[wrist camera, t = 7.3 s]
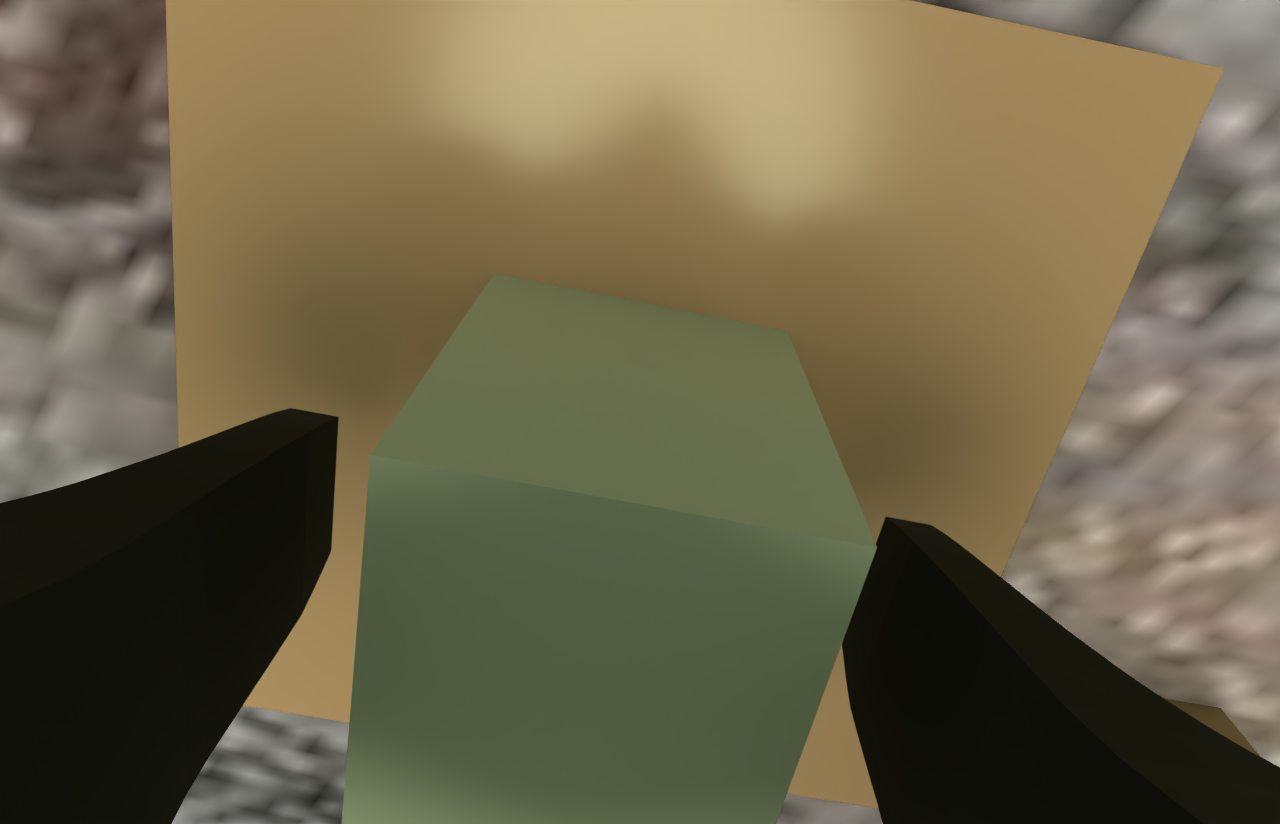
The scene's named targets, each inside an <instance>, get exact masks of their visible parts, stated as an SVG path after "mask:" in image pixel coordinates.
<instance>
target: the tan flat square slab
mask: <svg viewBox="0 0 1280 824" xmlns="http://www.w3.org/2000/svg"><path fill="white" fill-rule="evenodd" d="M166 26H167V60H168V95H169V129H170V163H171V197H172V231H173V266H174V300H175V334H176V368H177V403H178V437H179V448H180V447H182V446H185V445H188V444H190V443H193V442H196V441H198V440H201V439H204V438H206V437H209V436H212V435H214V434H217V433H219V432H222V431H225V430H227V429H230V428H233V427H235V426H238V425H240V424H243V423H246V422H248V421H251V420H254V419H257V418H259V417H262V416H265V415H268V414H271V413H274V412H277V411H281V410H285V409H289V408H293V409H299V410H304V411H310V412H315V413H321V414H326V415H332V416H337V417H339V420H338V438H337V456H336V474H335V492H334V511H333V529H332V547H331V553H330V555H329V557H328V560H327V562H326V564H325V566H324V568H323V571H322V573H321V575H320V577H319V580H318V582H317V584H316V586H315V588H314V590H313V592H312V594H311V596H310V599H309V601H308V603H307V605H306V607H305V609H304V611H303V613H302V615H301V617H300V618H299V620H298V621H297V623H296V624H295V626H294V628H293V629H292V631H291V632H290V634H289V635H288V637H287V639H286V640H285V642H284V643H283V645H282V646H281V648H280V649H279V651H278V652H277V654H276V656H275V657H274V659H273V660H272V662H271V663H270V665H269V666H268V668H267V669H266V671H265V672H264V674H263V675H262V677H261V678H260V680H259V681H258V683H257V684H256V686H255V688H254V689H253V691H252V692H251V694H250V695H249V697H248V698H247V700H246V701H245V703H244V704H243V705H244V706H250V707H256V708H262V709H268V710H274V711H280V712H287V713H293V714H299V715H305V716H311V717H317V718H324V719H330V720H336V721H342V722H348V723H350V710H351V697H352V684H353V671H354V658H355V645H356V632H357V619H358V606H359V593H360V580H361V567H362V554H363V541H364V528H365V515H366V502H367V489H368V476H369V463H370V454H371V453H372V451H373V450H374V448H375V447H376V445H377V444H378V442H379V441H380V440H381V438H382V437H383V435H384V434H385V432H386V431H387V429H388V428H389V426H390V425H391V423H392V422H393V421H394V419H395V418H396V416H397V415H398V413H399V412H400V410H401V409H402V407H403V406H404V404H405V403H406V402H407V400H408V399H409V397H410V396H411V394H412V393H413V391H414V390H415V388H416V387H417V385H418V384H419V383H420V381H421V380H422V378H423V377H424V375H425V374H426V372H427V371H428V369H429V368H430V366H431V365H432V364H433V362H434V361H435V359H436V358H437V356H438V355H439V353H440V352H441V350H442V349H443V348H444V346H445V345H446V343H447V342H448V340H449V339H450V337H451V336H452V334H453V333H454V331H455V330H456V329H457V327H458V326H459V324H460V323H461V321H462V320H463V318H464V317H465V315H466V314H467V312H468V311H469V310H470V308H471V307H472V305H473V304H474V302H475V301H476V299H477V298H478V296H479V295H480V293H481V292H482V291H483V289H484V288H485V286H486V285H487V283H488V282H489V280H490V279H491V277H492V276H493V274H494V273H496V274H502V275H507V276H512V277H517V278H522V279H527V280H532V281H537V282H542V283H547V284H552V285H557V286H562V287H567V288H572V289H578V290H583V291H588V292H593V293H598V294H603V295H608V296H613V297H618V298H623V299H628V300H633V301H638V302H643V303H649V304H654V305H659V306H664V307H669V308H674V309H679V310H684V311H689V312H694V313H699V314H704V315H709V316H714V317H719V318H725V319H730V320H735V321H740V322H745V323H750V324H755V325H760V326H765V327H770V328H775V329H780V330H785V331H787V332H788V334H789V337H790V339H791V341H792V344H793V346H794V349H795V351H796V353H797V356H798V358H799V361H800V363H801V365H802V368H803V370H804V373H805V375H806V378H807V380H808V382H809V385H810V387H811V390H812V392H813V394H814V397H815V399H816V402H817V404H818V406H819V409H820V411H821V414H822V416H823V418H824V421H825V423H826V426H827V428H828V431H829V433H830V435H831V438H832V440H833V443H834V445H835V447H836V450H837V452H838V455H839V457H840V459H841V462H842V464H843V467H844V469H845V471H846V474H847V476H848V479H849V481H850V484H851V486H852V488H853V491H854V493H855V496H856V498H857V500H858V503H859V505H860V508H861V510H862V512H863V515H864V517H865V520H866V522H867V524H868V527H869V529H870V532H871V534H872V537H873V539H874V541H875V544H876V542H877V539H878V537H879V534H880V531H881V528H882V525H883V523H884V520H885V517H891V518H896V519H902V520H907V521H913V522H918V523H924V524H929V525H932V526H933V527H935V528H937V529H938V530H940V531H942V532H943V533H944V534H946V535H947V536H949V537H950V538H952V539H953V540H954V541H956V542H957V543H958V544H960V545H961V546H962V547H963V548H965V549H966V550H967V551H969V552H970V553H971V554H973V555H974V556H975V557H976V558H978V559H979V560H980V561H981V562H983V563H984V564H985V565H986V566H987V567H989V568H990V569H991V570H992V571H994V572H995V573H996V574H997V575H999V576H1000V577H1001V576H1002V573H1003V571H1004V569H1005V567H1006V564H1007V562H1008V560H1009V557H1010V555H1011V553H1012V551H1013V548H1014V546H1015V544H1016V542H1017V539H1018V537H1019V535H1020V532H1021V530H1022V528H1023V526H1024V523H1025V521H1026V519H1027V516H1028V514H1029V512H1030V510H1031V507H1032V505H1033V503H1034V501H1035V498H1036V496H1037V494H1038V491H1039V489H1040V487H1041V485H1042V482H1043V480H1044V478H1045V475H1046V473H1047V471H1048V469H1049V466H1050V464H1051V462H1052V460H1053V457H1054V455H1055V453H1056V450H1057V448H1058V446H1059V444H1060V441H1061V439H1062V437H1063V434H1064V432H1065V430H1066V428H1067V425H1068V423H1069V421H1070V418H1071V416H1072V414H1073V412H1074V409H1075V407H1076V405H1077V403H1078V400H1079V398H1080V396H1081V393H1082V391H1083V389H1084V387H1085V384H1086V382H1087V380H1088V377H1089V375H1090V373H1091V371H1092V368H1093V366H1094V364H1095V362H1096V359H1097V357H1098V355H1099V352H1100V350H1101V348H1102V346H1103V343H1104V341H1105V339H1106V336H1107V334H1108V332H1109V330H1110V327H1111V325H1112V323H1113V321H1114V318H1115V316H1116V314H1117V311H1118V309H1119V307H1120V305H1121V302H1122V300H1123V298H1124V295H1125V293H1126V291H1127V289H1128V286H1129V284H1130V282H1131V280H1132V277H1133V275H1134V273H1135V270H1136V268H1137V266H1138V264H1139V261H1140V259H1141V257H1142V254H1143V252H1144V250H1145V248H1146V245H1147V243H1148V241H1149V238H1150V236H1151V234H1152V232H1153V229H1154V227H1155V225H1156V223H1157V220H1158V218H1159V216H1160V213H1161V211H1162V209H1163V207H1164V204H1165V202H1166V200H1167V197H1168V195H1169V193H1170V191H1171V188H1172V186H1173V184H1174V182H1175V179H1176V177H1177V175H1178V172H1179V170H1180V168H1181V166H1182V163H1183V161H1184V159H1185V156H1186V154H1187V152H1188V150H1189V147H1190V145H1191V143H1192V141H1193V138H1194V136H1195V134H1196V131H1197V129H1198V127H1199V125H1200V122H1201V120H1202V118H1203V115H1204V113H1205V111H1206V109H1207V106H1208V104H1209V102H1210V100H1211V97H1212V95H1213V93H1214V90H1215V88H1216V86H1217V84H1218V81H1219V79H1220V77H1221V74H1222V72H1223V70H1224V68H1219V67H1214V66H1210V65H1205V64H1201V63H1196V62H1191V61H1187V60H1182V59H1178V58H1173V57H1168V56H1164V55H1159V54H1155V53H1150V52H1146V51H1141V50H1136V49H1132V48H1127V47H1123V46H1118V45H1113V44H1109V43H1104V42H1100V41H1095V40H1090V39H1086V38H1081V37H1077V36H1072V35H1068V34H1063V33H1058V32H1054V31H1049V30H1045V29H1040V28H1035V27H1031V26H1026V25H1022V24H1017V23H1012V22H1008V21H1003V20H999V19H994V18H990V17H985V16H980V15H976V14H971V13H967V12H962V11H957V10H953V9H948V8H944V7H939V6H934V5H930V4H925V3H921V2H916V1H911V0H166ZM787 794H792V795H798V796H804V797H810V798H816V799H822V800H828V801H835V802H841V803H847V804H853V805H859V806H865V807H872V808H878V804H877V801H876V797H875V794H874V790H873V787H872V784H871V780H870V777H869V773H868V770H867V766H866V763H865V759H864V756H863V752H862V749H861V745H860V741H859V738H858V734H857V731H856V727H855V723H854V720H853V716H852V712H851V708H850V703H849V696H848V689H847V683H846V676H845V667H844V659H843V650H842V645H841V647H840V650H839V653H838V656H837V658H836V661H835V664H834V667H833V669H832V672H831V675H830V677H829V680H828V683H827V686H826V688H825V691H824V694H823V697H822V699H821V702H820V705H819V707H818V710H817V713H816V716H815V718H814V721H813V724H812V727H811V729H810V732H809V735H808V738H807V740H806V743H805V746H804V748H803V751H802V754H801V757H800V759H799V762H798V765H797V768H796V770H795V773H794V776H793V778H792V781H791V784H790V787H789V789H788V792H787ZM878 809H879V808H878Z"/></svg>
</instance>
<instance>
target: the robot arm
mask: <svg viewBox="0 0 1280 824" xmlns="http://www.w3.org/2000/svg"><path fill="white" fill-rule="evenodd" d="M338 420H339V417H337V416H332V415H326V414H321V413H315V412H310V411H304V410H299V409H293V408H289V409H285V410H281V411H277V412H274V413H271V414H268V415H265V416H262V417H259V418H257V419H254V420H251V421H248V422H246V423H243V424H240V425H238V426H235V427H233V428H230V429H227V430H225V431H222V432H219V433H217V434H214V435H212V436H209V437H206V438H204V439H201V440H198V441H196V442H193V443H190V444H188V445H185V446H182V447H180V448H177V449H174V450H172V451H169V452H167V453H164V454H161V455H158V456H155V457H152V458H149V459H146V460H143V461H140V462H137V463H134V464H131V465H128V466H125V467H122V468H119V469H116V470H113V471H110V472H107V473H104V474H101V475H99V476H96V477H93V478H90V479H87V480H84V481H81V482H77V483H74V484H71V485H67V486H64V487H60V488H57V489H53V490H50V491H46V492H43V493H39V494H35V495H32V496H28V497H24V498H20V499H16V500H12V501H8V502H4V503H0V824H171V823H172V821H173V819H174V817H175V816H176V814H177V812H178V810H179V808H180V806H181V804H182V802H183V800H184V798H185V796H186V794H187V793H188V791H189V789H190V787H191V786H192V784H193V782H194V781H195V779H196V777H197V776H198V774H199V772H200V771H201V769H202V767H203V766H204V764H205V762H206V761H207V759H208V757H209V756H210V754H211V753H212V751H213V750H214V748H215V747H216V745H217V744H218V742H219V741H220V739H221V738H222V736H223V735H224V733H225V732H226V730H227V728H228V727H229V725H230V724H231V722H232V721H233V719H234V718H235V716H236V715H237V713H238V712H239V710H240V709H241V707H242V706H243V704H244V703H245V701H246V700H247V698H248V697H249V695H250V694H251V692H252V691H253V689H254V688H255V686H256V684H257V683H258V681H259V680H260V678H261V677H262V675H263V674H264V672H265V671H266V669H267V668H268V666H269V665H270V663H271V662H272V660H273V659H274V657H275V656H276V654H277V652H278V651H279V649H280V648H281V646H282V645H283V643H284V642H285V640H286V639H287V637H288V635H289V634H290V632H291V631H292V629H293V628H294V626H295V624H296V623H297V621H298V620H299V618H300V617H301V615H302V613H303V611H304V609H305V607H306V605H307V603H308V601H309V599H310V596H311V594H312V592H313V590H314V588H315V586H316V584H317V582H318V580H319V577H320V575H321V573H322V571H323V568H324V566H325V564H326V562H327V560H328V557H329V555H330V553H331V547H332V529H333V511H334V492H335V474H336V456H337V438H338ZM876 546H877V549H876V552H875V555H874V557H873V560H872V563H871V566H870V568H869V571H868V574H867V576H866V579H865V582H864V585H863V587H862V590H861V593H860V596H859V598H858V601H857V604H856V606H855V609H854V612H853V615H852V617H851V620H850V623H849V626H848V628H847V631H846V634H845V637H844V639H843V642H842V650H843V659H844V667H845V676H846V683H847V689H848V696H849V703H850V708H851V712H852V716H853V720H854V723H855V727H856V731H857V734H858V738H859V741H860V745H861V749H862V752H863V756H864V759H865V763H866V766H867V770H868V773H869V777H870V780H871V784H872V787H873V790H874V794H875V797H876V801H877V804H878V808H879V811H880V815H881V818H882V822H883V824H1280V767H1278V766H1276V765H1274V764H1272V763H1271V762H1269V761H1267V760H1265V759H1263V758H1261V757H1260V756H1258V755H1256V754H1254V753H1252V752H1250V751H1249V750H1247V749H1245V748H1243V747H1242V746H1240V745H1238V744H1237V743H1235V742H1233V741H1231V740H1230V739H1228V738H1226V737H1225V736H1223V735H1221V734H1220V733H1218V732H1216V731H1214V730H1213V729H1211V728H1209V727H1208V726H1206V725H1205V724H1203V723H1201V722H1200V721H1198V720H1197V719H1195V718H1194V717H1192V716H1190V715H1189V714H1187V713H1186V712H1184V711H1183V710H1181V709H1179V708H1178V707H1176V706H1175V705H1173V704H1172V703H1170V702H1168V701H1167V700H1165V699H1164V698H1162V697H1161V696H1159V695H1157V694H1156V693H1154V692H1153V691H1151V690H1150V689H1148V688H1147V687H1145V686H1144V685H1142V684H1141V683H1139V682H1138V681H1136V680H1135V679H1134V678H1132V677H1131V676H1129V675H1128V674H1126V673H1125V672H1123V671H1122V670H1121V669H1119V668H1118V667H1116V666H1115V665H1114V664H1112V663H1111V662H1110V661H1108V660H1107V659H1106V658H1104V657H1103V656H1101V655H1100V654H1099V653H1097V652H1096V651H1095V650H1093V649H1092V648H1090V647H1089V646H1088V645H1086V644H1085V643H1084V642H1082V641H1081V640H1079V639H1078V638H1077V637H1076V636H1074V635H1073V634H1072V633H1070V632H1069V631H1068V630H1066V629H1065V628H1064V627H1063V626H1061V625H1060V624H1059V623H1057V622H1056V621H1055V620H1053V619H1052V618H1051V617H1050V616H1048V615H1047V614H1046V613H1045V612H1043V611H1042V610H1041V609H1039V608H1038V607H1037V606H1036V605H1034V604H1033V603H1032V602H1031V601H1030V600H1028V599H1027V598H1026V597H1025V596H1023V595H1022V594H1021V593H1020V592H1018V591H1017V590H1016V589H1015V588H1013V587H1012V586H1011V585H1010V584H1008V583H1007V582H1006V581H1005V580H1004V579H1002V578H1001V577H1000V576H999V575H997V574H996V573H995V572H994V571H992V570H991V569H990V568H989V567H987V566H986V565H985V564H984V563H983V562H981V561H980V560H979V559H978V558H976V557H975V556H974V555H973V554H971V553H970V552H969V551H967V550H966V549H965V548H963V547H962V546H961V545H960V544H958V543H957V542H956V541H954V540H953V539H952V538H950V537H949V536H947V535H946V534H944V533H943V532H942V531H940V530H938V529H937V528H935V527H933V526H932V525H929V524H924V523H918V522H913V521H907V520H902V519H896V518H891V517H885V520H884V523H883V525H882V528H881V531H880V534H879V537H878V539H877V542H876Z"/></svg>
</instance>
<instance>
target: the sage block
mask: <svg viewBox="0 0 1280 824" xmlns="http://www.w3.org/2000/svg"><path fill="white" fill-rule="evenodd" d="M876 549H877V546H876V544H875V541H874V539H873V537H872V534H871V532H870V529H869V527H868V524H867V522H866V520H865V517H864V515H863V512H862V510H861V508H860V505H859V503H858V500H857V498H856V496H855V493H854V491H853V488H852V486H851V484H850V481H849V479H848V476H847V474H846V471H845V469H844V467H843V464H842V462H841V459H840V457H839V455H838V452H837V450H836V447H835V445H834V443H833V440H832V438H831V435H830V433H829V431H828V428H827V426H826V423H825V421H824V418H823V416H822V414H821V411H820V409H819V406H818V404H817V402H816V399H815V397H814V394H813V392H812V390H811V387H810V385H809V382H808V380H807V378H806V375H805V373H804V370H803V368H802V365H801V363H800V361H799V358H798V356H797V353H796V351H795V349H794V346H793V344H792V341H791V339H790V337H789V334H788V332H787V331H785V330H780V329H775V328H770V327H765V326H760V325H755V324H750V323H745V322H740V321H735V320H730V319H725V318H719V317H714V316H709V315H704V314H699V313H694V312H689V311H684V310H679V309H674V308H669V307H664V306H659V305H654V304H649V303H643V302H638V301H633V300H628V299H623V298H618V297H613V296H608V295H603V294H598V293H593V292H588V291H583V290H578V289H572V288H567V287H562V286H557V285H552V284H547V283H542V282H537V281H532V280H527V279H522V278H517V277H512V276H507V275H502V274H496V273H494V274H493V276H492V277H491V279H490V280H489V282H488V283H487V285H486V286H485V288H484V289H483V291H482V292H481V293H480V295H479V296H478V298H477V299H476V301H475V302H474V304H473V305H472V307H471V308H470V310H469V311H468V312H467V314H466V315H465V317H464V318H463V320H462V321H461V323H460V324H459V326H458V327H457V329H456V330H455V331H454V333H453V334H452V336H451V337H450V339H449V340H448V342H447V343H446V345H445V346H444V348H443V349H442V350H441V352H440V353H439V355H438V356H437V358H436V359H435V361H434V362H433V364H432V365H431V366H430V368H429V369H428V371H427V372H426V374H425V375H424V377H423V378H422V380H421V381H420V383H419V384H418V385H417V387H416V388H415V390H414V391H413V393H412V394H411V396H410V397H409V399H408V400H407V402H406V403H405V404H404V406H403V407H402V409H401V410H400V412H399V413H398V415H397V416H396V418H395V419H394V421H393V422H392V423H391V425H390V426H389V428H388V429H387V431H386V432H385V434H384V435H383V437H382V438H381V440H380V441H379V442H378V444H377V445H376V447H375V448H374V450H373V451H372V453H371V454H370V463H369V476H368V489H367V502H366V515H365V528H364V541H363V554H362V567H361V580H360V593H359V606H358V619H357V632H356V645H355V658H354V671H353V684H352V697H351V710H350V723H349V736H348V749H347V762H346V775H345V788H344V801H343V814H342V824H776V822H777V819H778V817H779V814H780V811H781V808H782V806H783V803H784V800H785V798H786V795H787V792H788V789H789V787H790V784H791V781H792V778H793V776H794V773H795V770H796V768H797V765H798V762H799V759H800V757H801V754H802V751H803V748H804V746H805V743H806V740H807V738H808V735H809V732H810V729H811V727H812V724H813V721H814V718H815V716H816V713H817V710H818V707H819V705H820V702H821V699H822V697H823V694H824V691H825V688H826V686H827V683H828V680H829V677H830V675H831V672H832V669H833V667H834V664H835V661H836V658H837V656H838V653H839V650H840V647H841V645H842V642H843V639H844V637H845V634H846V631H847V628H848V626H849V623H850V620H851V617H852V615H853V612H854V609H855V606H856V604H857V601H858V598H859V596H860V593H861V590H862V587H863V585H864V582H865V579H866V576H867V574H868V571H869V568H870V566H871V563H872V560H873V557H874V555H875V552H876Z"/></svg>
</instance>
